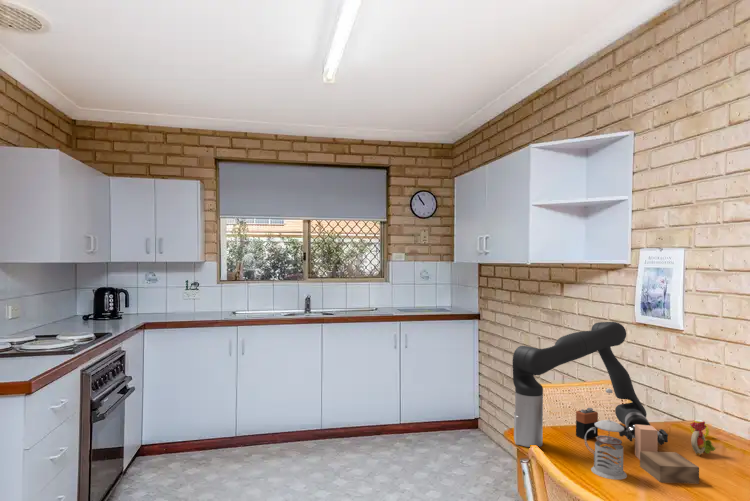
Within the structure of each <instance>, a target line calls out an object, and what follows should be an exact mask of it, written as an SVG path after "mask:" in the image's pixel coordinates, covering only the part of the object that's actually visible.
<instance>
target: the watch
mask: <svg viewBox="0 0 750 501" xmlns="http://www.w3.org/2000/svg"><path fill="white" fill-rule="evenodd" d="M693 422H695V423H700V422H705V421H704V420H701V419H694V421H691V423H693ZM705 425H706V428H705V429H704V430H705V434H704V437H705V438H707V437H708V435H709V433H710V429H709V426H708V425H707V424H706V423H705ZM689 428H690V429H689V430H690V432H691V433H692V434H693V432H694V430H695V429H694V428H693V427H692V426H691V425H690V426H689Z"/></svg>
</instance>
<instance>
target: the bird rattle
mask: <svg viewBox="0 0 750 501" xmlns="http://www.w3.org/2000/svg"><path fill="white" fill-rule="evenodd" d="M692 422H693V421H692ZM692 422H691V423H690V425H691V426H692V427H693V429H694V432H693V433H692V434H691V438H690V443H691V448H692V450H693V452H694V453H695V455H696V456H701V455H702V454H703V453H704V452H705V454H710V453H711V452H715V450H716V447H714V445H712V444H713V443H712V441H711V440H710V439H706V437H704V436H705V434H704V432H703V431H704V430H706V429H705V428H706V425H707V424H706V422H705V421H704V422H700V423H696V422H693V423H692ZM705 424H706V425H705Z"/></svg>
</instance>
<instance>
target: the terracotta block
mask: <svg viewBox="0 0 750 501" xmlns="http://www.w3.org/2000/svg"><path fill="white" fill-rule="evenodd" d="M657 431H658V430H657V429H656V428H655V427H654V426H653V425H651V424H650V425H638V424H635V438H634V455H635V457H636V458H637V459H638V460H639V461H640V451H649V452H658V441H657V438H658V435H657Z"/></svg>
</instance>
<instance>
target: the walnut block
mask: <svg viewBox="0 0 750 501" xmlns="http://www.w3.org/2000/svg"><path fill="white" fill-rule="evenodd" d="M639 467H640V468H641V469H642V470H644V471H645V472H646V473H648V474H649V475H650V476H651V477H653V478H654V479H655V480H656V481H658V482H659V483H662V484H663V483H666V484H667V483H669V484H696V485H699V484H700V467H699V466H698V465H697V464H694V463H693V462H692V461H691V460H689V459H687V458H685V457H684V456H682V455H681V454H679V453H678V452H676V451H675V452H674V451H657V452H649V451H640V460H639Z"/></svg>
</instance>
